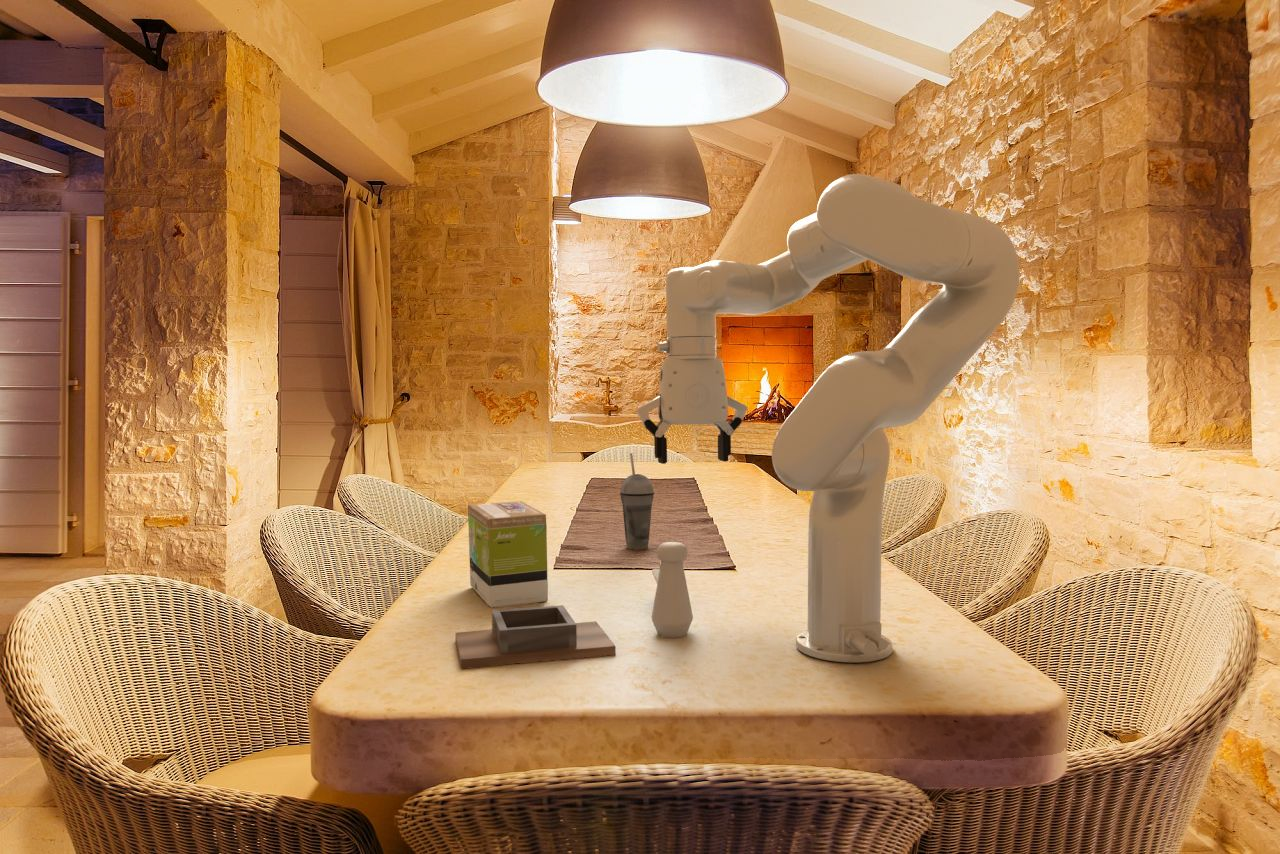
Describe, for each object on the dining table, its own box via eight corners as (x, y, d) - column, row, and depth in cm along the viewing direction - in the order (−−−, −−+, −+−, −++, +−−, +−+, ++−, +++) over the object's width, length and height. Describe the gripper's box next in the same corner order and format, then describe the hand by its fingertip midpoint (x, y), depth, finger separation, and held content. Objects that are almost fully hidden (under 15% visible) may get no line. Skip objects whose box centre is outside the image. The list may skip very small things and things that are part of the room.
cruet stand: (615, 654, 118) (615, 623, 118) (461, 668, 113) (460, 636, 113) (596, 629, 130) (595, 601, 130) (455, 641, 125) (454, 611, 125)
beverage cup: (654, 551, 186) (654, 454, 184) (619, 551, 186) (618, 454, 185) (654, 544, 193) (654, 451, 192) (620, 544, 193) (620, 451, 192)
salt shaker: (689, 641, 124) (689, 548, 124) (648, 638, 126) (648, 546, 125) (695, 629, 130) (695, 540, 129) (656, 626, 131) (656, 538, 130)
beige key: (696, 591, 153) (695, 553, 153) (713, 621, 136) (713, 578, 135) (626, 593, 152) (625, 555, 152) (634, 623, 135) (634, 580, 134)
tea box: (468, 588, 156) (466, 503, 155) (524, 582, 159) (523, 499, 158) (488, 609, 142) (487, 516, 141) (549, 602, 146) (548, 511, 145)
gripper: (641, 349, 131) (643, 466, 132) (753, 348, 135) (754, 462, 136) (630, 351, 139) (632, 461, 140) (737, 350, 142) (739, 457, 143)
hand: (692, 461), depth 138 cm, fingers open, 9 cm apart
